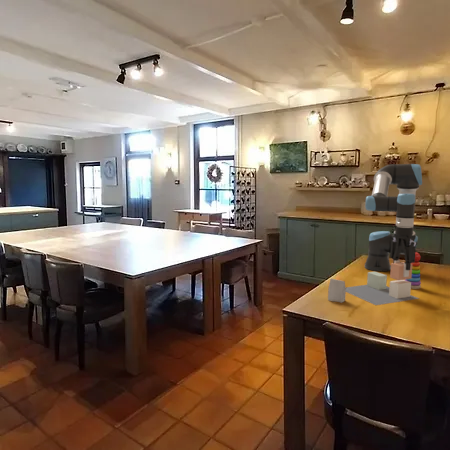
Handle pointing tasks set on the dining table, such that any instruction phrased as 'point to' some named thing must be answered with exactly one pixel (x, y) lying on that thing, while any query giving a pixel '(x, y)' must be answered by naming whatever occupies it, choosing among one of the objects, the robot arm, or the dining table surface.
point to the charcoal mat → (375, 295)
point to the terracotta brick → (399, 271)
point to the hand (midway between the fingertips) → (400, 274)
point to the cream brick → (400, 289)
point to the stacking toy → (415, 273)
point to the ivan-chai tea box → (336, 290)
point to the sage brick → (376, 280)
